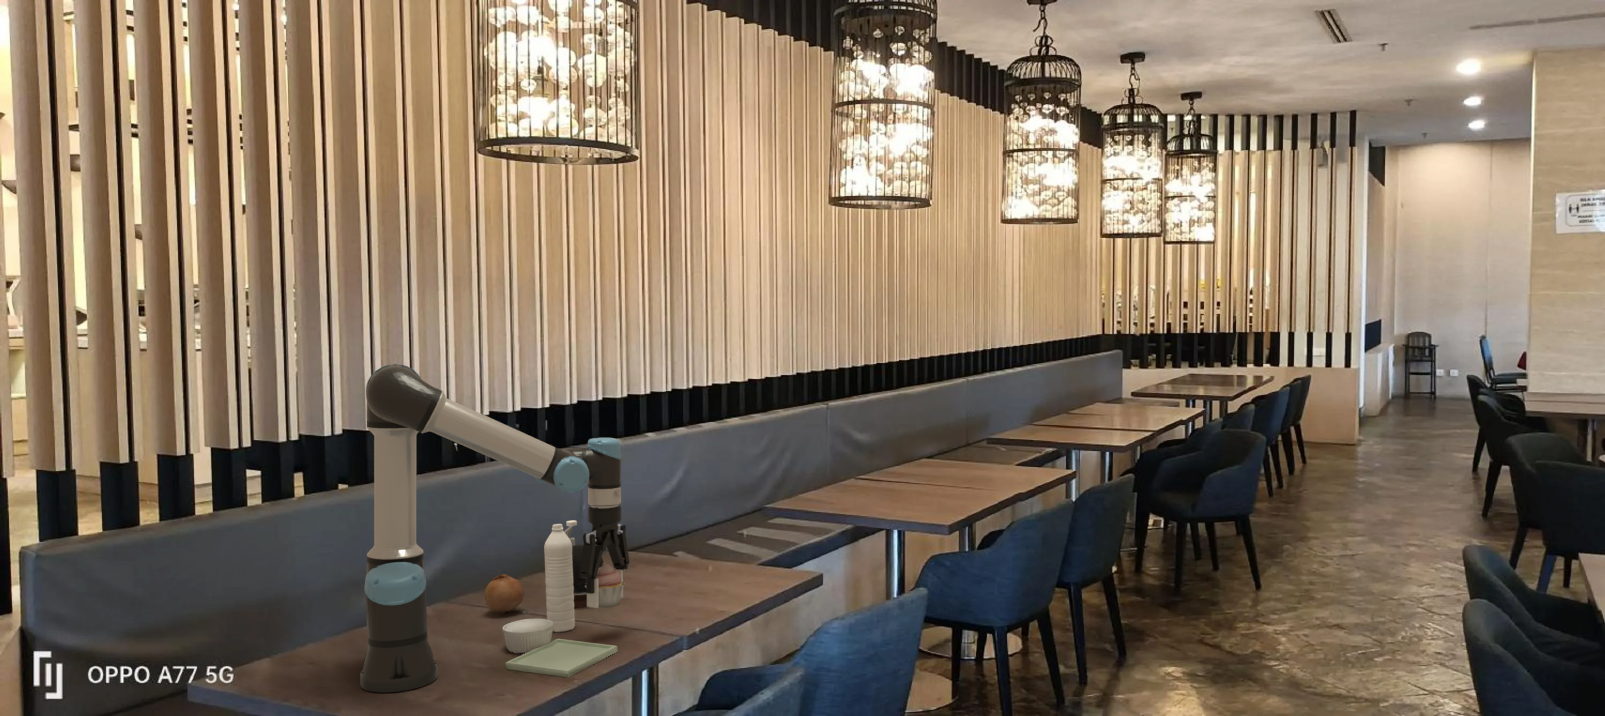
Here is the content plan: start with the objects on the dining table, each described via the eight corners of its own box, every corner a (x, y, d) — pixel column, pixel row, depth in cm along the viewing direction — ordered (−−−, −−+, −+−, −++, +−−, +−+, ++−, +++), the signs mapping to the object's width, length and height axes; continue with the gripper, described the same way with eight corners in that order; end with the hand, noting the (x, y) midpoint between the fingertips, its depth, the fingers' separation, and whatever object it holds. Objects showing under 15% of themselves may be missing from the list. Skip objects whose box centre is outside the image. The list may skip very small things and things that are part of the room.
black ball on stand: (602, 594, 302) (600, 538, 301) (609, 606, 290) (607, 547, 289) (551, 599, 298) (549, 542, 297) (557, 611, 286) (555, 552, 285)
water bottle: (558, 634, 266) (555, 528, 265) (541, 629, 270) (537, 525, 269) (588, 625, 273) (584, 521, 272) (570, 620, 277) (566, 519, 276)
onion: (488, 620, 279) (486, 580, 279) (482, 611, 288) (481, 572, 287) (527, 615, 283) (526, 575, 283) (520, 606, 292) (519, 567, 291)
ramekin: (499, 644, 259) (498, 622, 259) (549, 638, 264) (548, 615, 263) (507, 658, 249) (506, 634, 249) (558, 651, 253) (557, 627, 253)
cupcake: (592, 598, 269) (591, 556, 268) (630, 600, 267) (630, 558, 267) (578, 609, 259) (578, 565, 259) (618, 610, 258) (618, 566, 258)
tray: (567, 677, 235) (567, 670, 235) (505, 668, 241) (505, 662, 241) (617, 652, 251) (617, 645, 251) (558, 644, 258) (557, 638, 258)
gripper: (590, 514, 251) (591, 615, 252) (644, 499, 271) (644, 593, 272) (562, 511, 254) (563, 611, 255) (618, 497, 274) (618, 589, 275)
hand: (605, 601), depth 263 cm, fingers closed on cupcake, 9 cm apart
